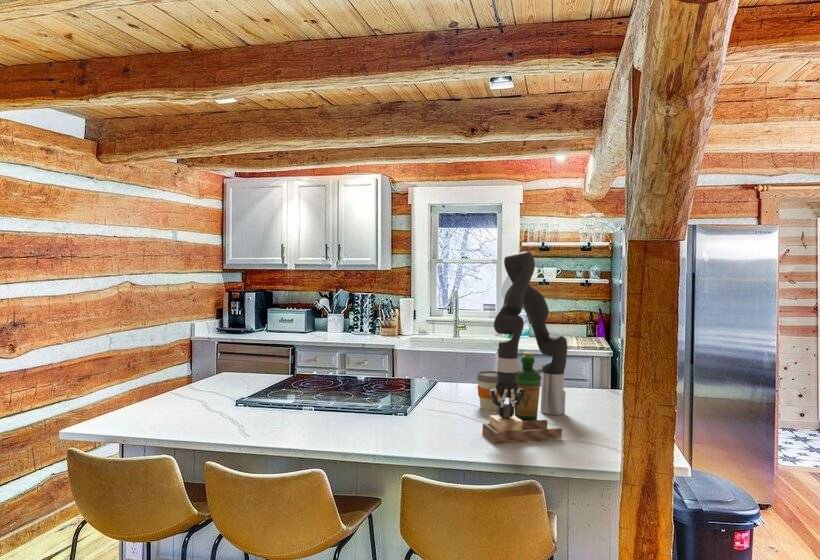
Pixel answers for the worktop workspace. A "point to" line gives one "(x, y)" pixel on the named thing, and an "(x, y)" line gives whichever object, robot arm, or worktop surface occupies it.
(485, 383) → the reusable coffee cup
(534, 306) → the robot arm
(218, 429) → the worktop surface
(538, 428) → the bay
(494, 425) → the light wooden block
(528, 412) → the bottle
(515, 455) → the worktop surface
